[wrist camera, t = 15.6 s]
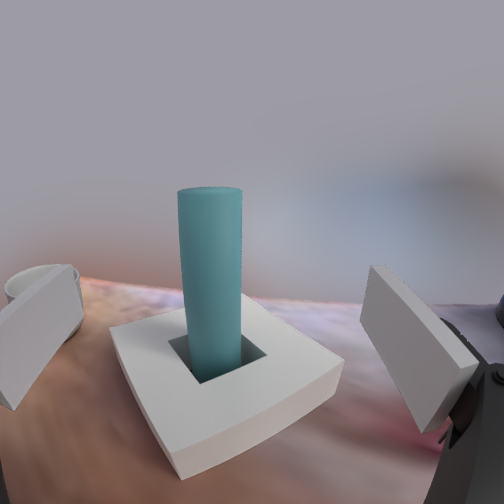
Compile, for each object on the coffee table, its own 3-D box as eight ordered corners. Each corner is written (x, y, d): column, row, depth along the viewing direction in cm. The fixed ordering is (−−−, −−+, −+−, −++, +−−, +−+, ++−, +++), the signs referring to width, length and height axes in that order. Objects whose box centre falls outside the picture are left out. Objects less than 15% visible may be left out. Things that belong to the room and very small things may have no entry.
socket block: (334, 394, 24) (344, 360, 22) (181, 480, 15) (169, 453, 13) (239, 322, 36) (239, 291, 35) (118, 361, 27) (109, 327, 26)
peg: (250, 388, 25) (255, 191, 19) (209, 407, 22) (194, 197, 16) (225, 363, 28) (221, 185, 22) (186, 378, 26) (168, 190, 20)
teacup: (42, 310, 34) (29, 261, 32) (100, 312, 36) (90, 260, 33) (0, 366, 21) (-25, 308, 19) (68, 378, 23) (43, 314, 20)
